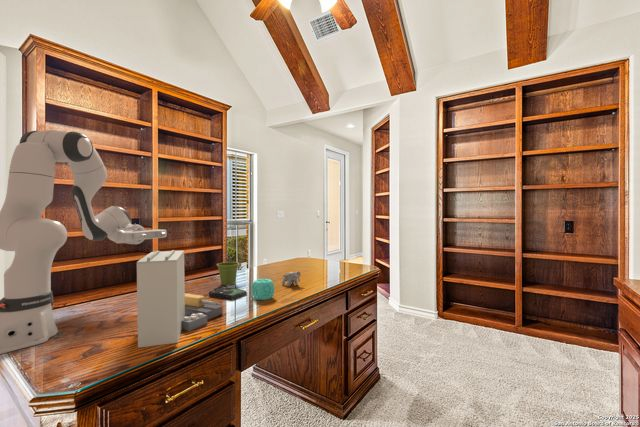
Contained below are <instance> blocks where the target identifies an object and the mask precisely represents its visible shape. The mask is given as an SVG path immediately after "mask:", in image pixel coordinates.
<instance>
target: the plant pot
mask: <svg viewBox="0 0 640 427" xmlns="http://www.w3.org/2000/svg"><path fill="white" fill-rule="evenodd" d="M239 264H240V262H238V261H226V262H220V263H219V262H218V263H216V266H217V269H218V272H219V278H220V283H221V285H222V286H232V285H235V284H236V279H237V270H238V267H239Z"/></svg>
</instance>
